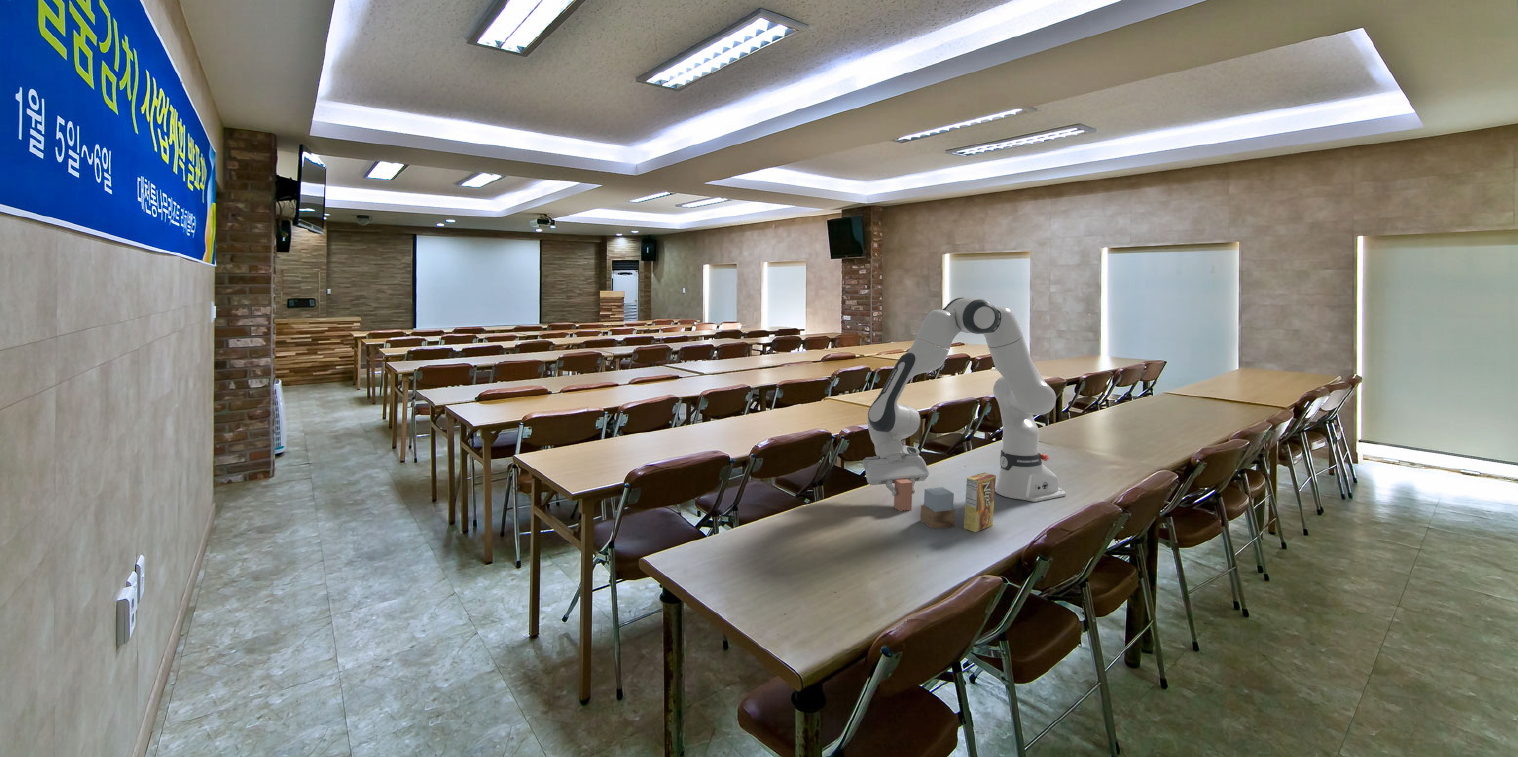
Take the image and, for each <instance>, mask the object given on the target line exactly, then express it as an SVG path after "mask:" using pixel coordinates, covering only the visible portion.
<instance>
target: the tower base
mask: <svg viewBox="0 0 1518 757" xmlns="http://www.w3.org/2000/svg"><path fill="white" fill-rule="evenodd" d="M955 513H956V510H955V509H953V510H948V511H939V512H934V511H932V510H931V509H929V508H928V507H926V506H924V503H923V504H921V505H920V522H922V521H923V522H924V523H923V522H922V523H923V524H925V523H926V524H927V525H926V524H925V525H926V526H928V527H929V526H930V527H929V528H930V529H932V530H934V528H936V529H942V528H944V527H945V528H952V526H954V527H955V518H956V517H955V516H956V514H955Z"/></svg>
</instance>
